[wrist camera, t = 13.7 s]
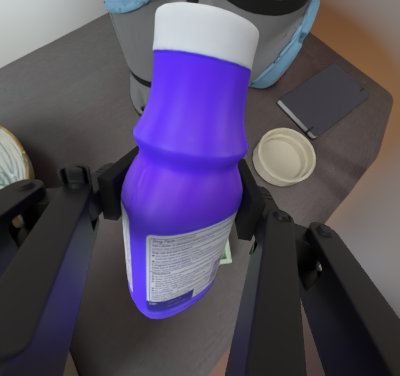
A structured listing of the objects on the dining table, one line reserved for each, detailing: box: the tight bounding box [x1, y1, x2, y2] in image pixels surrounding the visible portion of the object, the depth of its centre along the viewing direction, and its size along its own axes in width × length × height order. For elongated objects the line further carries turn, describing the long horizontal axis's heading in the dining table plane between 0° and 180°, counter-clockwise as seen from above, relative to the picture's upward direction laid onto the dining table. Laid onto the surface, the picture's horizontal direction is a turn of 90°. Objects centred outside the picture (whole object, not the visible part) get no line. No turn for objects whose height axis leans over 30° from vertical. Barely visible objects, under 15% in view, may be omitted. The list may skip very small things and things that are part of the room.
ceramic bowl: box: [253, 128, 316, 187], centre depth 37 cm, size 12×12×4 cm
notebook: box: [276, 62, 369, 139], centre depth 43 cm, size 13×2×21 cm
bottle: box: [121, 2, 259, 319], centre depth 11 cm, size 7×6×17 cm
